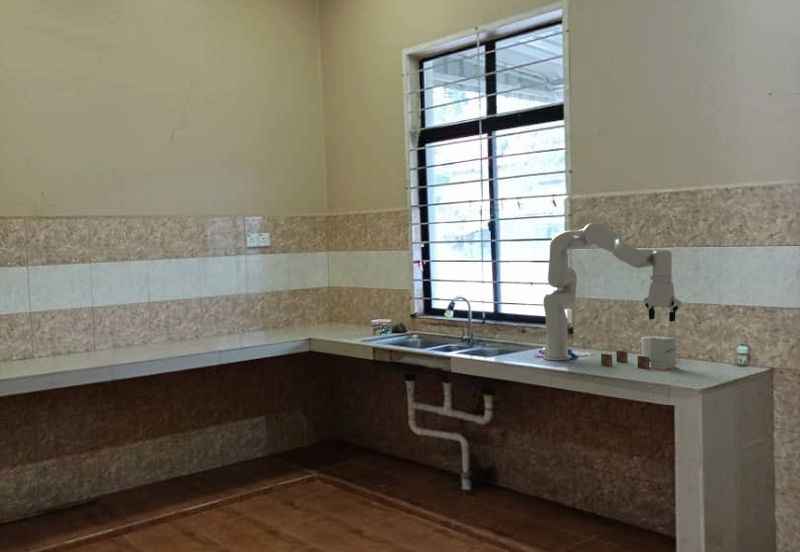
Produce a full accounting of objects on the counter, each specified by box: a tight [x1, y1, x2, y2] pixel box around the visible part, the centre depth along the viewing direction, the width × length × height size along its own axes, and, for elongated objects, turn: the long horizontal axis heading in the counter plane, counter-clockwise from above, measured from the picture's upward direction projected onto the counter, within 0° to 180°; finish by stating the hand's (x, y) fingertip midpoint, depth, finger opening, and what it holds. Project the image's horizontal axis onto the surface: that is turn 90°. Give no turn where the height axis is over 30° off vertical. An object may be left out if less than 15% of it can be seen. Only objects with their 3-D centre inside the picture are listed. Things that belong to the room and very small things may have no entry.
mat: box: [649, 366, 680, 372], centre depth 319 cm, size 9×9×1 cm
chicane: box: [600, 350, 651, 370], centre depth 328 cm, size 20×17×5 cm
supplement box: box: [650, 335, 677, 369], centre depth 319 cm, size 7×7×13 cm
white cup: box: [640, 335, 658, 361], centre depth 341 cm, size 8×8×10 cm
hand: (661, 320), depth 318 cm, fingers open, 9 cm apart
